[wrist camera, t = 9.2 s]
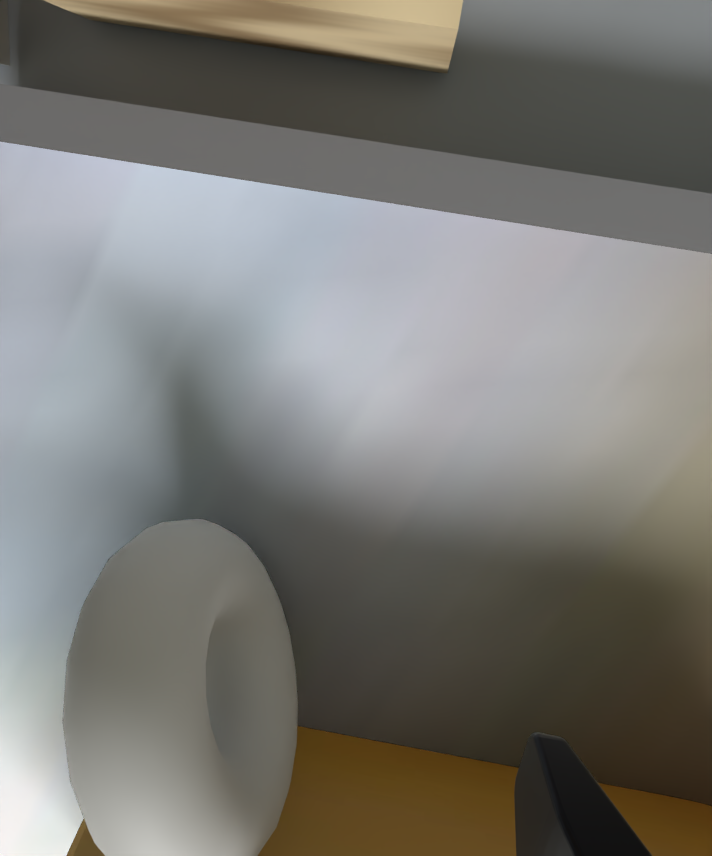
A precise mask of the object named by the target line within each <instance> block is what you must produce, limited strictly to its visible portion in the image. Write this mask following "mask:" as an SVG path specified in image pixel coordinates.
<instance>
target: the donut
mask: <svg viewBox="0 0 712 856" xmlns="http://www.w3.org/2000/svg"><path fill="white" fill-rule="evenodd" d="M297 721H298V698H297V683H296V668H295V662H294V656H293V650H292V645H291V639H290V633H289V629H288V626H287V622H286V619H285V615H284V612H283V609H282V605H281V602H280V599H279V597H278V595H277V593H276V590H275V588H274V586H273V584H272V582H271V580H270V577H269V575H268V573H267V571H266V569H265V567H264V565H263V563H262V562H261V561H260V560H259V558H258V557H257V556H256V554H255V553H254V552H253V551H252V549H251V548H250V547H249V545H248V544H247V543H246V542H244V541H243V540H242V539H241V538H240V537H238V536H237V535H236V534H234V533H232V532H230V531H229V530H227V529H225V528H223V527H221V526H220V525H218V524H216V523H213V522H210V521H207V520H204V519H185V520H176V521H167V522H161V523H158V524H156V525H153V526H150V527H148V528H146V529H145V530H143V531H142V532H141V533H140V534H138V535H137V536H136V537H135V538H133V539H132V540H131V541H130V542H129V543H127V544H126V545H125V546H124V547H122V548H121V549H120V550H119V551H118V552H117V553H115V554H114V555H113V556H112V557H111V558H110V559H108V561H107V563H106V565H105V566H104V568H103V570H102V572H101V573H100V575H99V577H98V579H97V580H96V582H95V584H94V586H93V587H92V589H91V591H90V593H89V594H88V596H87V598H86V600H85V602H84V604H83V606H82V608H81V611H80V615H79V618H78V622H77V626H76V629H75V633H74V637H73V640H72V644H71V647H70V651H69V655H68V658H67V665H66V679H65V694H64V708H63V728H64V736H65V744H66V752H67V760H68V768H69V776H70V782H71V785H72V787H73V790H74V793H75V795H76V798H77V801H78V803H79V806H80V809H81V811H82V814H83V817H84V819H85V822H86V825H87V827H88V830H89V832H90V834H91V836H92V839H93V841H94V843H95V844H96V846H97V847H98V848H99V849H100V850H101V851H102V853H103V854H104V855H105V856H258V854H259V853H260V851H261V850H262V848H263V847H264V845H265V844H266V842H267V841H268V839H269V838H270V836H271V835H272V833H273V832H274V830H275V829H276V827H277V824H278V821H279V818H280V815H281V812H282V809H283V806H284V803H285V800H286V797H287V794H288V791H289V787H290V782H291V777H292V771H293V764H294V758H295V752H296V746H297Z"/></svg>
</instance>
